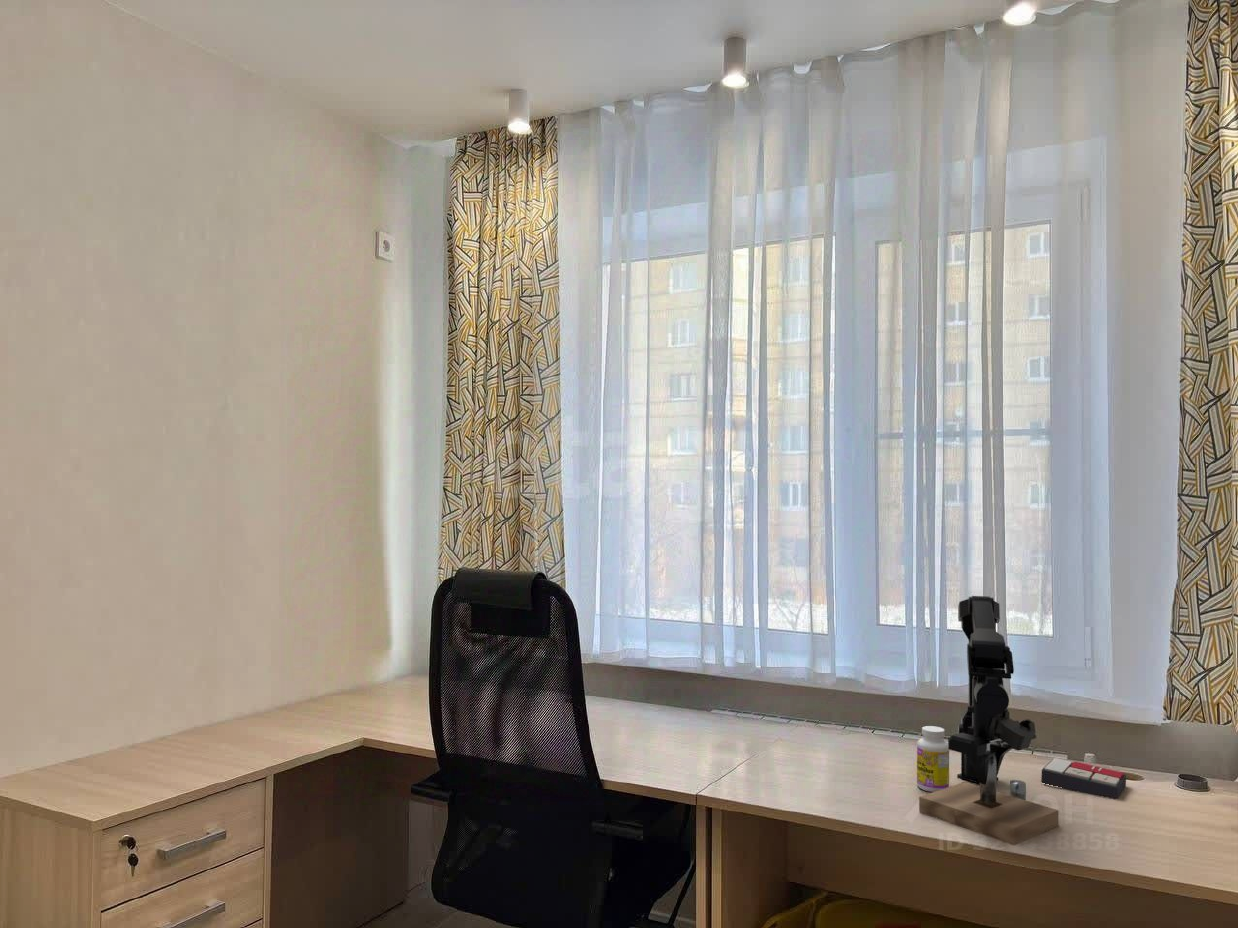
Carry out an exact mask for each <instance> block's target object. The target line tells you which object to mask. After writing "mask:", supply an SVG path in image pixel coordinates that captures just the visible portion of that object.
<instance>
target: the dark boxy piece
mask: <svg viewBox="0 0 1238 928" xmlns="http://www.w3.org/2000/svg"><path fill="white" fill-rule="evenodd" d="M1124 773H1125V772H1122V771H1118V770H1115V769H1109V768H1105V767H1101V766H1097V765H1092V764H1088V763H1083V762H1079V761H1073V762H1072V761H1070V760H1066V759H1063V758H1057V757H1053V758H1052V759H1051V760H1050V761H1049V762H1048V763H1047V764H1046V765H1045V766H1044V767H1043V768H1042V769H1041V780H1040V781H1041V782H1042V783H1045V784H1049V785H1053V786H1058V787H1062V788H1063V789H1065V790H1069V789H1070V791H1073V790H1074V792H1077V791H1079V792H1078V793H1083V794H1086V793H1087V795H1092V796H1097V797H1101V796H1103V797H1102V798H1106V797H1109V798H1108V799H1111V798H1113V800H1118V799H1119V798H1120V797H1121V795H1122V793H1123V792H1124V791H1125V789H1126V787H1127V775H1126V774H1124ZM1041 782H1040V783H1041ZM1119 796H1120V797H1119Z"/></svg>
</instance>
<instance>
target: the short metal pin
mask: <svg viewBox="0 0 1238 928" xmlns="http://www.w3.org/2000/svg"><path fill="white" fill-rule="evenodd" d="M1009 796H1013V797H1016V798H1020V799H1023V800H1026V801H1027V783H1026V782H1025V781H1022V780H1019V779H1011V780H1010V781H1009Z"/></svg>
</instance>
